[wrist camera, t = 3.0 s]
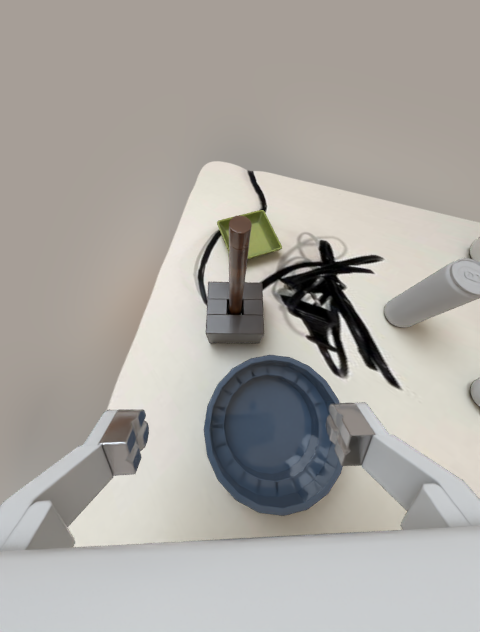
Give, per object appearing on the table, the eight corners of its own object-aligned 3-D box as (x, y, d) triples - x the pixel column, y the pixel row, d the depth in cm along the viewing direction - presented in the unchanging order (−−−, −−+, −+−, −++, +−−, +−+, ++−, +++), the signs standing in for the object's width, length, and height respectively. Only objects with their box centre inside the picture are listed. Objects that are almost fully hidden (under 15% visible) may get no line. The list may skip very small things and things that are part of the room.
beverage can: (385, 296, 37) (453, 250, 26) (414, 308, 37) (496, 267, 25) (379, 321, 35) (448, 284, 24) (409, 334, 35) (495, 302, 24)
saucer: (232, 269, 38) (232, 262, 36) (216, 229, 40) (216, 220, 38) (280, 255, 39) (283, 248, 37) (261, 217, 42) (263, 209, 40)
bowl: (302, 516, 26) (322, 547, 21) (187, 454, 28) (177, 468, 22) (338, 391, 31) (362, 390, 26) (239, 345, 33) (241, 334, 28)
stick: (237, 326, 34) (245, 236, 15) (227, 321, 34) (224, 228, 16) (241, 317, 35) (255, 220, 16) (232, 313, 35) (234, 212, 16)
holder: (259, 343, 33) (264, 334, 29) (209, 343, 33) (205, 333, 28) (257, 297, 36) (262, 282, 31) (211, 297, 36) (208, 281, 31)
